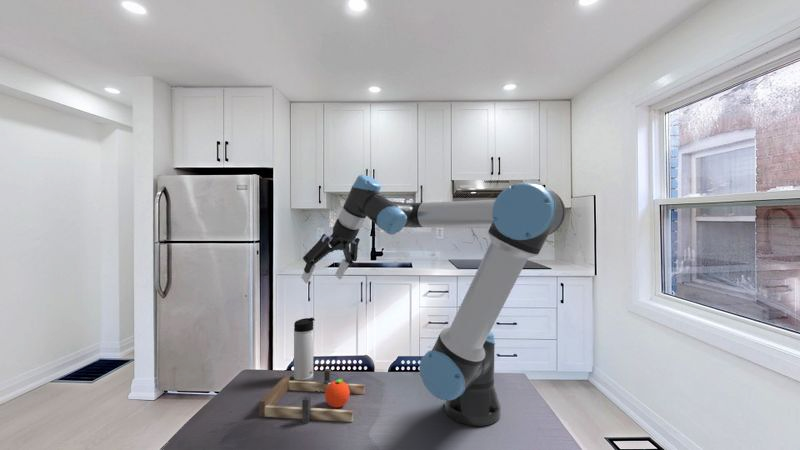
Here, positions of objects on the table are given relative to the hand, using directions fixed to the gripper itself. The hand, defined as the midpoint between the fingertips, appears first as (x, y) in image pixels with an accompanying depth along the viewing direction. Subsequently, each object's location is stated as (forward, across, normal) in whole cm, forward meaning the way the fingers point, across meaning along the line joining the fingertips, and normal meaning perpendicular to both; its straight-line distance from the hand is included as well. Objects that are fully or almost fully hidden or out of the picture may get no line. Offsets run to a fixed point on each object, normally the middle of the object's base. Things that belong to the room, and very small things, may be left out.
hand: (322, 278), depth 112 cm
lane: (+25, +7, +26) cm, 36 cm away
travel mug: (+33, 0, +12) cm, 35 cm away
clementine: (+22, +4, +30) cm, 37 cm away
